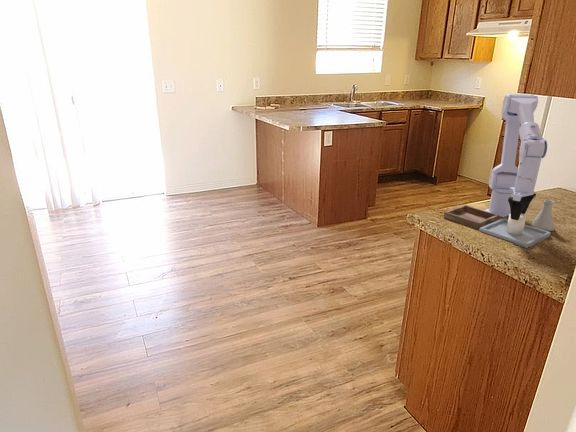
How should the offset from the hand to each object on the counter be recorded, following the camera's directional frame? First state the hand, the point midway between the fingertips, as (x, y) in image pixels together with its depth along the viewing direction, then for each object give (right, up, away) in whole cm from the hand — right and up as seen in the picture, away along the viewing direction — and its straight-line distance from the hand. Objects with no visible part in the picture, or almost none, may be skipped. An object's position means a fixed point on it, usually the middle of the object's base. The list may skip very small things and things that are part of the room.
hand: (517, 216), depth 138 cm
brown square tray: (-10, -1, +14) cm, 17 cm away
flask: (+13, -4, +8) cm, 16 cm away
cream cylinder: (0, -6, +2) cm, 6 cm away
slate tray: (0, -6, +2) cm, 7 cm away
